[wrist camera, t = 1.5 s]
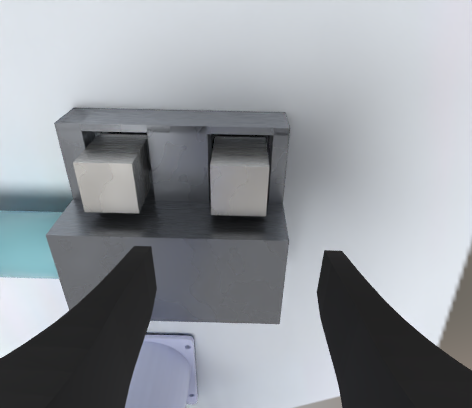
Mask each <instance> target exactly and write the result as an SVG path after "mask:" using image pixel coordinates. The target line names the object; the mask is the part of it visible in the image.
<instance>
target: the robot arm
mask: <svg viewBox="0 0 472 408" xmlns="http://www.w3.org/2000/svg"><path fill="white" fill-rule="evenodd" d="M156 291H157V285H156V277H155V270H154V262H153V255H152V247H151V246H134V247H133V248H132V249H131V250H130V251H129V252H128V253H127V254H126V255H125V256H124V257H123V258H122V260H121V261H120V262H119V263H118V264H117V265H116V266H115V267H114V268H113V269H112V270H111V272H110V273H109V274H108V275H107V276H106V277H105V278H104V279H103V280H102V281H101V282H100V283H99V284H98V285H97V286H96V287H95V288H94V289H93V290H92V291H91V292H90V293H88V294H87V295H86V296H85V297H84V298H83V299H82V300H81V301H80V302H79V303H78V304H77V305H75V306H74V307H73V308H72V309H71V310H70V311H68V312H67V313H66V314H65V315H64V316H62V317H61V318H60V319H59V320H57V321H56V322H55V323H53V324H52V325H51V326H49V327H48V328H46V329H45V330H44V331H42V332H41V333H39V334H38V335H36V336H35V337H33V338H32V339H31V340H29V341H28V342H26V343H25V344H23V345H22V346H20V347H19V348H17V349H15V350H14V351H12V352H10V353H9V354H7V355H6V356H4V357H2V358H0V408H186V404H195V403H197V401H198V393H197V379H196V364H195V349H194V339H193V338H192V337H191V336H180V335H146V332H147V328H148V325H149V322H150V319H151V316H152V312H153V307H154V302H155V296H156ZM317 297H318V304H319V311H320V318H321V322H322V326H323V329H324V333H325V337H326V340H327V344H328V348H329V351H330V355H331V359H332V362H333V366H334V369H335V373H336V377H337V381H338V385H339V390H340V396H341V401H342V407H343V408H472V371H471V370H470V369H468V368H467V367H465V366H464V365H462V364H461V363H459V362H458V361H457V360H455V359H454V358H452V357H451V356H449V355H448V354H447V353H445V352H444V351H442V350H441V349H440V348H439V347H437V346H436V345H435V344H433V343H432V342H431V341H429V340H428V339H427V338H426V337H424V336H423V335H422V334H421V333H420V332H418V331H417V330H416V329H415V328H414V327H413V326H411V325H410V324H409V323H408V322H407V321H406V320H404V319H403V318H402V317H401V316H400V315H399V314H398V313H397V312H396V311H395V310H394V309H393V308H392V307H391V306H390V305H389V304H388V303H387V302H386V301H385V300H384V299H383V298H382V297H381V296H380V295H379V294H378V293H377V291H376V290H375V289H374V288H373V287H372V286H371V285H370V284H369V283H368V282H367V280H366V279H365V278H364V277H363V276H362V275H361V273H360V272H359V271H358V270H357V269H356V267H355V266H354V265H353V264H352V263H351V261H350V260H349V259H348V258H347V256H346V255H345V254H344V253H343V252H342V251H326V250H324V256H323V261H322V267H321V272H320V278H319V284H318V289H317Z"/></svg>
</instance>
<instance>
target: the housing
mask: <svg viewBox="0 0 472 408" xmlns="http://www.w3.org/2000/svg"><path fill="white" fill-rule="evenodd" d="M54 124H55V128H56V132H57V136H58V140H59V144H60V148H61V151H62V155H63V159H64V163H65V167H66V171H67V175H68V179H69V183H70V187H71V191H72V195H73V200H72V201H71V203H70V204H69V205H68V206H67V208H66V209H65V210H64V212H63V213H62V214H61V216H60V217H59V218H58V220H57V221H56V222H55V223H54V225H53V226H52V227H51V229H50V230H49V231H48V233H47V234H46V238H47V241H48V245H49V248H50V251H51V254H52V257H53V260H54V263H55V267H56V270H57V273H58V276H59V279H60V282H61V285H62V289H63V292H64V295H65V298H66V301H67V304H68V307H69V311H70V310H71V309H72V308H73V307H74V306H75V305H77V304H78V303H79V302H80V301H81V300H82V299H83V298H84V297H85V296H86V295H87V294H88V293H90V292H91V291H92V290H93V289H94V288H95V287H96V286H97V285H98V284H99V283H100V282H101V281H102V280H103V279H104V278H105V277H106V276H107V275H108V274H109V273H110V272H111V270H112V269H113V268H114V267H115V266H116V265H117V264H118V263H119V262H120V261H121V260H122V258H123V257H124V256H125V255H126V254H127V253H128V252H129V251H130V250H131V249H132V248H133V247H134V246H151V247H152V255H153V262H154V270H155V277H156V285H157V291H156V296H155V302H154V307H153V312H152V316H151V319H150V321H183V322H222V323H261V324H279V323H280V314H281V306H282V297H283V288H284V280H285V271H286V262H287V253H288V245H289V239H288V233H287V227H286V221H285V215H284V209H283V194H284V184H285V174H286V163H287V153H288V143H289V133H290V127H289V123H288V120H287V117H286V113H282V112H235V111H189V110H142V109H96V108H73V109H72V110H70V111H69V112H68V113H67V114H65V115H64V116H63V117H61V118H60V119H59V120H58V121H56V122H55V123H54ZM101 132H147V135H148V144H149V152H150V161H151V169H152V178H153V183H152V185H151V187H150V190H149V192H148V194H147V197H146V199H145V201H144V203H143V206H142V208H141V210H140V212H139V213H104V212H85V211H84V207H83V203H82V199H81V195H80V190H79V186H78V182H77V178H76V174H75V169H74V165H73V162H74V161H75V160H76V158H77V157H78V156H79V155H80V154H81V153H82V152H83V151H84V150H85V149H86V147H87V146H88V145H89V144H90V143H91V142H92V141H93V140H94V139H95V138H96V137H97V135H98V134H101ZM211 134H238V135H270V136H269V151H268V160H269V180H268V194H267V209H266V216H231V215H211V184H210V163H211V158H212V138H211Z"/></svg>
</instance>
